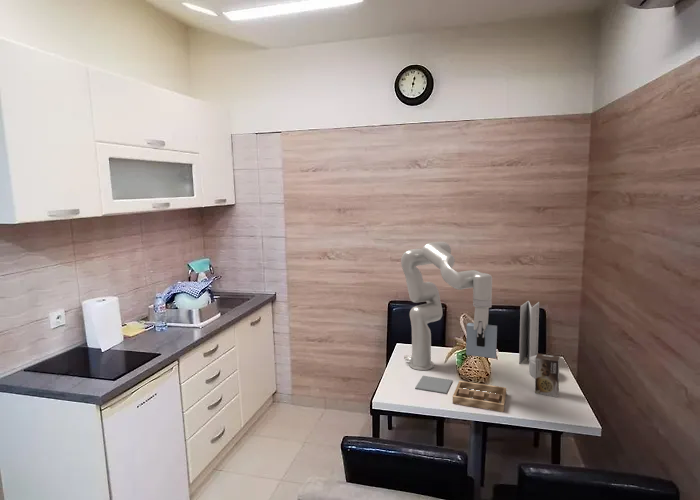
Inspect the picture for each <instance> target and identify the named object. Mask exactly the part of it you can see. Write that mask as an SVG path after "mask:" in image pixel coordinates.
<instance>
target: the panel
mask: <svg viewBox="0 0 700 500" xmlns="http://www.w3.org/2000/svg"><path fill="white" fill-rule="evenodd" d="M477 328H478V327H477ZM482 330H483V329H482ZM482 333H483V332H482ZM465 335H466V337H465V338H466V342H465V345H466V346H465V355H466V356H473V357H481V358H489V359H496V358H497V348H498V347H497V343H498V341H497V339H498V325H492V324H488V325H487V327H486V331H484V337H485V346H484V347H481V346H477V329H476V330H474V322H468V323H467V324H466V334H465Z"/></svg>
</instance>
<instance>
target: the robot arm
mask: <svg viewBox="0 0 700 500" xmlns="http://www.w3.org/2000/svg"><path fill="white" fill-rule="evenodd" d="M400 260H401V261H400V264H401V268H402V271H403V275H404V277H405V283H406V288H407V292H408V296H409V297H408V298H409V300H410V302H412V303H423V302H426V303H423V304H418V305H415V306H413V307H411V309H410V311H409V319H410V325H411V326H410V327H411V353H412V354H411V355H408V354H406V355H404V356H403V357H404V358H403V359H404V360H405V361H407V362H408V361H409V362H408V366H409V367H410V368H411V369H413V370H416V371H428V370H431V369H433V368H434V367H435V363H434V362H433V361H432V333H431V332H432V331H431V328H430V327H429V325H428V324H430V323H434V322H437V321H440V320H441V319H442V317H443V307H442V302H441V297H440V296H441V295H440V293H439V292H440V291H439V288H438V287H437V285H436V284H435V283H434V282H432V281H424V278H423V274H422V272H421V271H420V269H419V268H418V267H417V266H426V265H427V266H428V265H432V264H433V265H434V266H435V267H436V268H438V269H439V270H440V275H441V278H442V280H443V281H444V282H445V283H446V284H448V285H449V286H450V287H452V288H453V289H455V290H465V289H472V292H473V293H472V306H473V307H474V315H473V316H474V319H473V323H474V330H476V329H477V346H481V347H484V346H485V337H484V331H486V327H487V325H489V312H490V311H489V309H490V308H492V301H493V295H492V294H493V277H492V276H493V275H491V274H489V273H487V272H486V273H485V272H481V271H478V270H475V269H474V270H473V269H471V270H465V271H464V270H463V271H462V270H461V271H457V270H455V269H454V268H453V266H454V265H455V261H456V259H455V257H454V255H453V254H452V248H451V246H450V244H449V243H448V242H446V241H434V242H432V241H431V242H428V243H426V244H425V245H423V247H422V248H413V249H409V250H406V251H405V252H404V253H403V254H402V256H401V258H400ZM477 327H478V328H477ZM482 329H483V330H482ZM482 332H483V333H482Z"/></svg>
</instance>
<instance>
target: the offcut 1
mask: <svg viewBox="0 0 700 500" xmlns="http://www.w3.org/2000/svg"><path fill="white" fill-rule="evenodd" d="M458 396H459V397H466V398H471V397H470V390H465V389H460V390H459V395H458Z"/></svg>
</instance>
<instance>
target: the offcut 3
mask: <svg viewBox="0 0 700 500" xmlns="http://www.w3.org/2000/svg"><path fill="white" fill-rule="evenodd" d="M487 401H490V402H496V403H501V402H500V395H497V394H491V393H490V394H489V399H488V400H487Z"/></svg>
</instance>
